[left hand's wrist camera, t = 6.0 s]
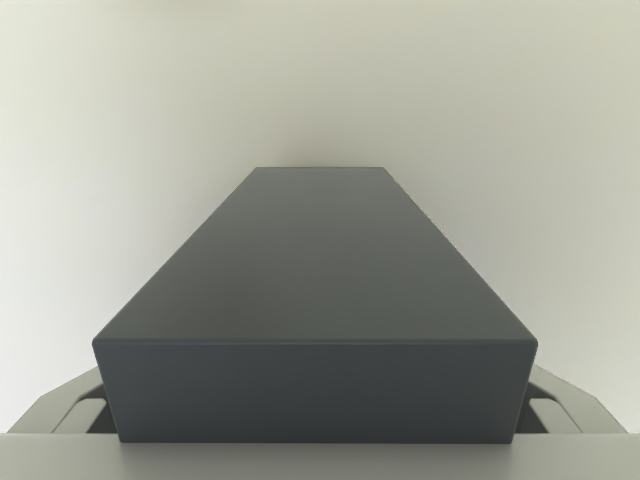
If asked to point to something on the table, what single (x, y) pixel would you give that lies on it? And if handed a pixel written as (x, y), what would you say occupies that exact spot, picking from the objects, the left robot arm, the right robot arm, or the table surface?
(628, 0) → the table surface
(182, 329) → the box
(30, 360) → the table surface
